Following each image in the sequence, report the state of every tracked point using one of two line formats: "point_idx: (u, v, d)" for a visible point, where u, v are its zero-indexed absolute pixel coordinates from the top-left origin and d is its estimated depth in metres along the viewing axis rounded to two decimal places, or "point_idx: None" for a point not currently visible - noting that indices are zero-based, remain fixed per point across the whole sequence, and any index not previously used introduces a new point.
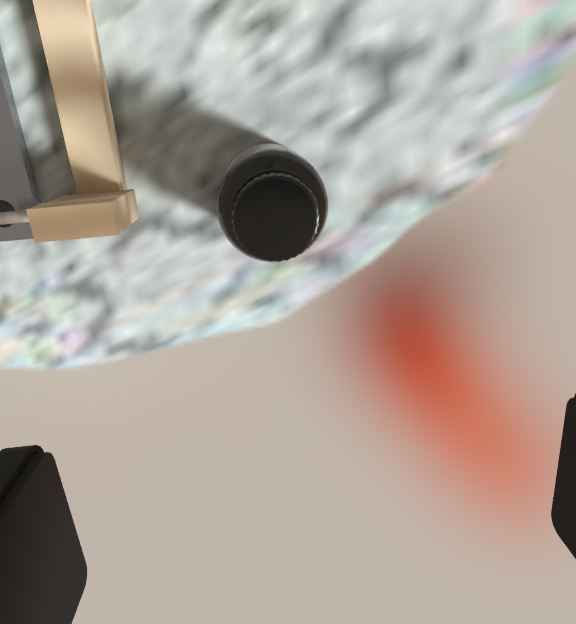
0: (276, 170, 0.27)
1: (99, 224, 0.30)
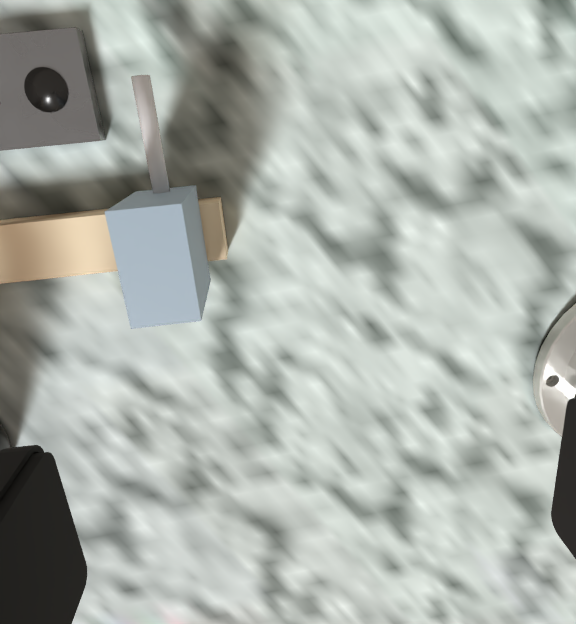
0: None
1: None
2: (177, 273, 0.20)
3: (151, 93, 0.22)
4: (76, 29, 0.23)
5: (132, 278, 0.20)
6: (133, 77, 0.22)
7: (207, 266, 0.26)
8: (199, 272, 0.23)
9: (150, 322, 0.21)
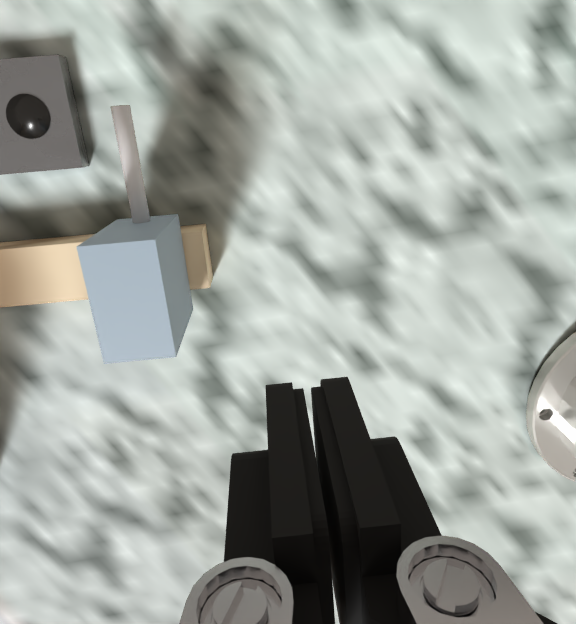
0: None
1: None
2: (151, 309, 0.20)
3: (131, 123, 0.22)
4: (58, 56, 0.23)
5: (105, 313, 0.20)
6: (112, 107, 0.21)
7: (189, 295, 0.26)
8: (177, 305, 0.22)
9: (124, 357, 0.21)
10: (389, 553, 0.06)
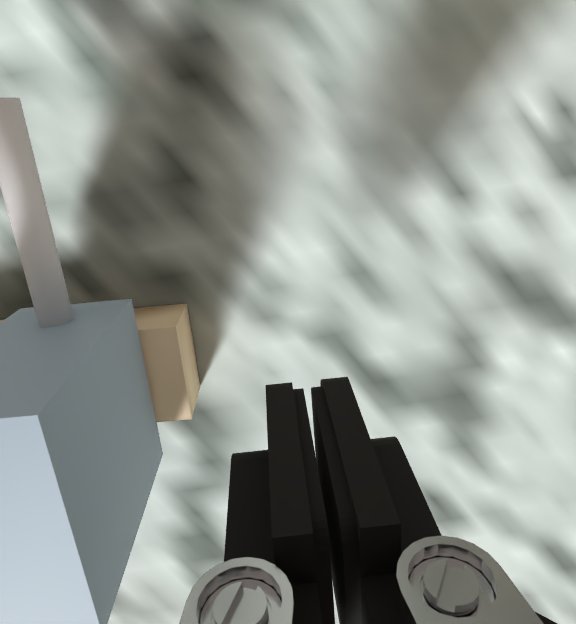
0: None
1: None
2: (41, 552, 0.09)
3: (22, 135, 0.11)
4: None
5: None
6: None
7: (154, 437, 0.14)
8: (115, 501, 0.11)
9: None
10: (389, 553, 0.06)
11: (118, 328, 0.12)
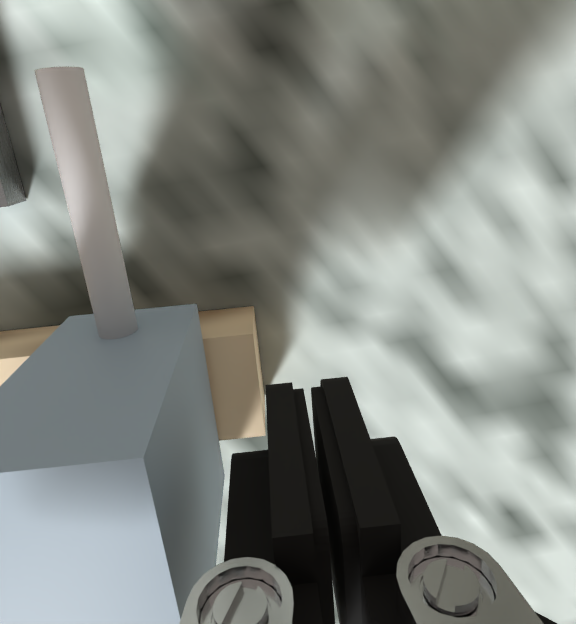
0: None
1: None
2: (135, 619, 0.07)
3: (87, 113, 0.09)
4: None
5: None
6: (38, 72, 0.08)
7: (218, 458, 0.13)
8: (199, 543, 0.09)
9: None
10: (389, 553, 0.06)
11: (190, 339, 0.11)
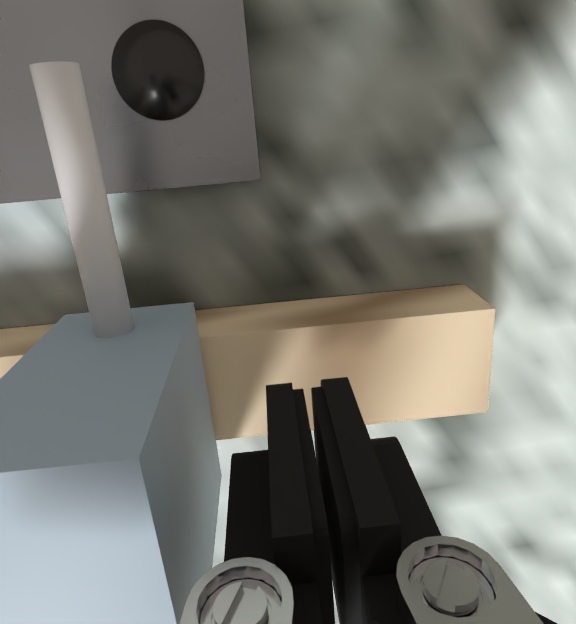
0: None
1: None
2: (130, 621, 0.07)
3: (82, 108, 0.09)
4: None
5: None
6: (33, 67, 0.08)
7: (215, 458, 0.13)
8: (196, 544, 0.09)
9: None
10: (389, 553, 0.06)
11: (187, 338, 0.10)
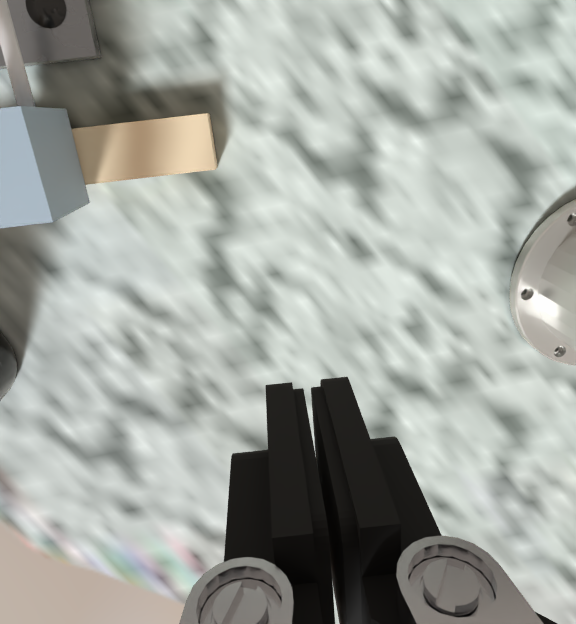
0: None
1: None
2: (24, 174, 0.22)
3: (8, 14, 0.24)
4: None
5: None
6: None
7: (83, 188, 0.28)
8: (58, 182, 0.24)
9: (5, 223, 0.23)
10: (389, 553, 0.06)
11: (58, 114, 0.25)
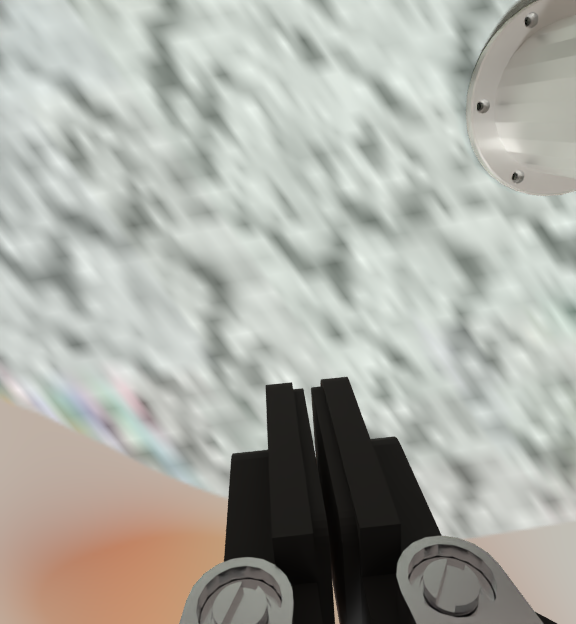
0: None
1: None
2: None
3: None
4: None
5: None
6: None
7: None
8: None
9: None
10: (389, 553, 0.06)
11: None
